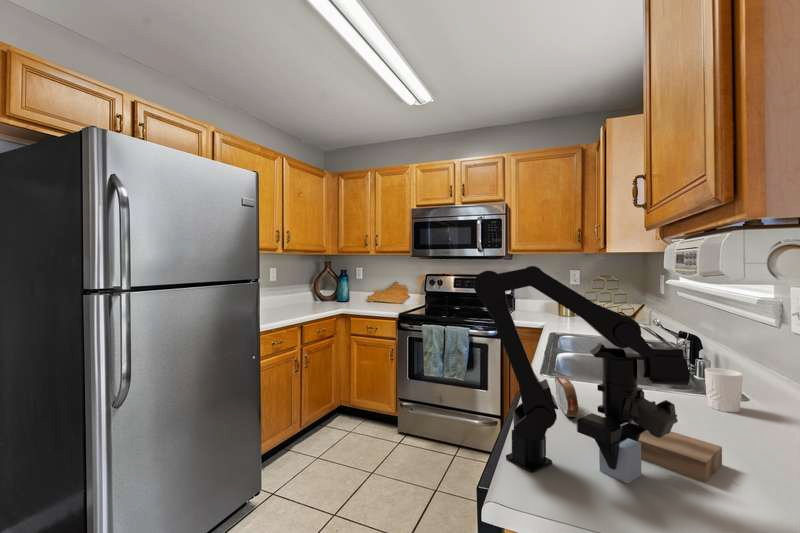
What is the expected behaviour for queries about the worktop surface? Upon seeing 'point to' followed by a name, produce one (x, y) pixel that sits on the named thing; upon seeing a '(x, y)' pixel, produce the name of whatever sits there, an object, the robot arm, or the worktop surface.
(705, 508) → the worktop surface
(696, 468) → the walnut block
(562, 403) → the tin
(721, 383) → the white cup
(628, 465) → the gray block
